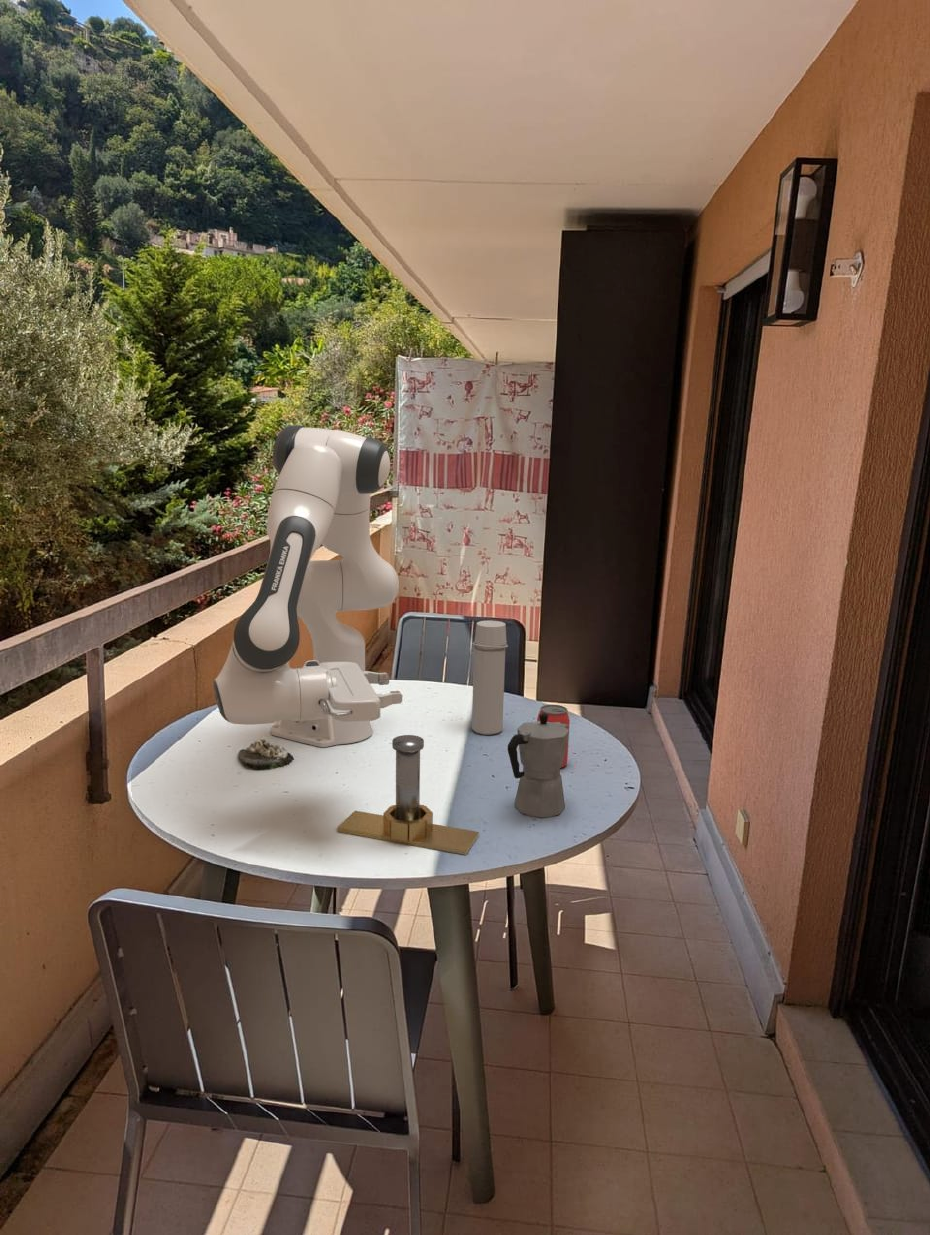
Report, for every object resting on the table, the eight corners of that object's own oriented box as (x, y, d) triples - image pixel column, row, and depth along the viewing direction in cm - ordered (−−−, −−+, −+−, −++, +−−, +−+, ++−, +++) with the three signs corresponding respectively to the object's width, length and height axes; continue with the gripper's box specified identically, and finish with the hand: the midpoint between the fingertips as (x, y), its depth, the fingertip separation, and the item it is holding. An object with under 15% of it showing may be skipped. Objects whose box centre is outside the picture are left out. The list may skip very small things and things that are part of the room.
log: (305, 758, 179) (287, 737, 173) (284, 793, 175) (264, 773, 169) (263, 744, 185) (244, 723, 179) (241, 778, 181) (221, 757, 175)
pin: (387, 833, 145) (387, 744, 142) (398, 820, 150) (399, 733, 146) (416, 838, 144) (417, 748, 140) (427, 824, 149) (428, 737, 145)
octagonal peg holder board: (336, 832, 147) (336, 811, 146) (355, 813, 154) (355, 793, 153) (465, 856, 140) (465, 834, 139) (479, 835, 147) (480, 814, 146)
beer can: (565, 771, 175) (568, 715, 173) (533, 768, 176) (535, 712, 174) (568, 759, 182) (571, 705, 179) (537, 756, 183) (539, 702, 180)
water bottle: (498, 738, 193) (502, 629, 187) (465, 733, 195) (468, 625, 190) (510, 725, 201) (514, 620, 196) (478, 720, 204) (482, 617, 198)
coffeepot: (544, 789, 166) (548, 700, 163) (582, 805, 160) (588, 712, 156) (487, 812, 156) (490, 717, 152) (525, 830, 149) (530, 731, 146)
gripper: (324, 697, 136) (410, 690, 140) (306, 657, 155) (382, 652, 159) (325, 734, 138) (409, 727, 142) (306, 690, 156) (381, 685, 161)
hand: (394, 687), depth 151 cm, fingers open, 8 cm apart
